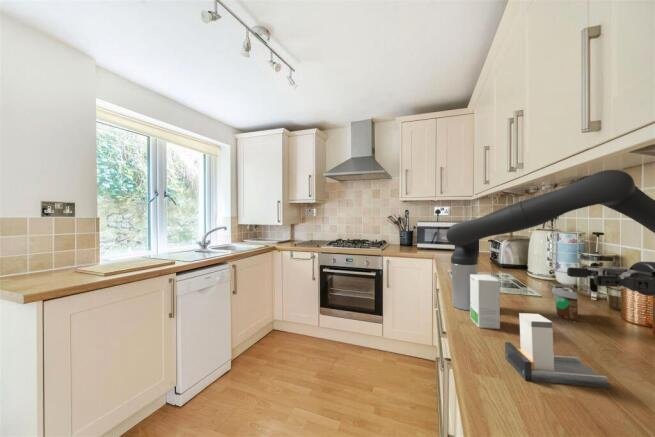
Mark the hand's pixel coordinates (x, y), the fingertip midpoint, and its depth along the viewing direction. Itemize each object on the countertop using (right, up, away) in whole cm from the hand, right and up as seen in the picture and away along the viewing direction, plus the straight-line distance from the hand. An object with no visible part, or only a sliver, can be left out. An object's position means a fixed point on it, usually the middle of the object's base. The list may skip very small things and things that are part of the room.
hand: (580, 275), depth 60 cm
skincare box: (-7, -22, +25) cm, 34 cm away
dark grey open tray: (-9, -21, -2) cm, 23 cm away
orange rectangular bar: (-14, -20, -1) cm, 24 cm away
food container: (+24, -21, +30) cm, 43 cm away
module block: (-12, -20, -2) cm, 23 cm away
